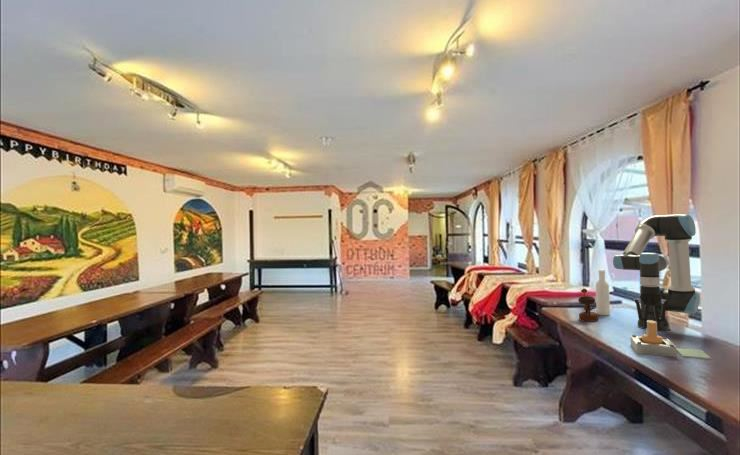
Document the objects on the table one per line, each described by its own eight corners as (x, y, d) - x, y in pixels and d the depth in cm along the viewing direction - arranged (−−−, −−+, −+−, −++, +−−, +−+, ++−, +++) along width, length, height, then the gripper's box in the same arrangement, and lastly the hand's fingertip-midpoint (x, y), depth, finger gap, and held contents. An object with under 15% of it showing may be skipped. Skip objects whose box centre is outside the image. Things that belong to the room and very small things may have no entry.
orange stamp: (640, 340, 191) (639, 319, 191) (660, 342, 187) (659, 320, 187) (643, 345, 183) (642, 322, 183) (664, 347, 180) (663, 324, 180)
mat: (675, 349, 186) (675, 347, 186) (701, 351, 182) (701, 350, 182) (682, 356, 175) (682, 355, 175) (711, 359, 171) (711, 357, 171)
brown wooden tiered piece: (574, 317, 256) (573, 286, 256) (592, 317, 255) (591, 286, 255) (585, 323, 241) (583, 290, 241) (603, 323, 239) (602, 290, 240)
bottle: (612, 315, 258) (610, 270, 258) (599, 315, 259) (597, 270, 259) (607, 313, 265) (605, 269, 266) (594, 313, 267) (593, 269, 267)
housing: (630, 344, 195) (630, 334, 195) (667, 347, 188) (667, 337, 188) (636, 353, 181) (636, 342, 181) (676, 357, 175) (676, 345, 175)
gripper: (632, 286, 185) (633, 335, 185) (672, 287, 179) (674, 338, 179) (629, 284, 192) (631, 332, 192) (667, 285, 186) (669, 334, 185)
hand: (651, 335), depth 185 cm, fingers closed on orange stamp, 2 cm apart
